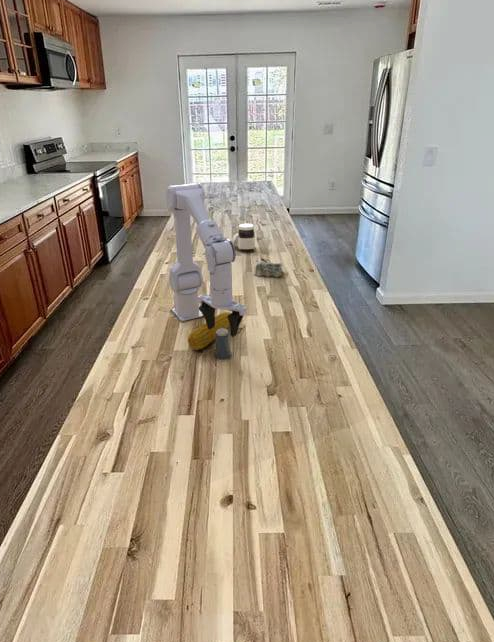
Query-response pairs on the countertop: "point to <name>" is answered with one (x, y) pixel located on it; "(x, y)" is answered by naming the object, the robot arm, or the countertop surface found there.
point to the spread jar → (245, 238)
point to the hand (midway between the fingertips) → (222, 331)
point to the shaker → (222, 343)
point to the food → (207, 332)
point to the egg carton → (268, 269)
